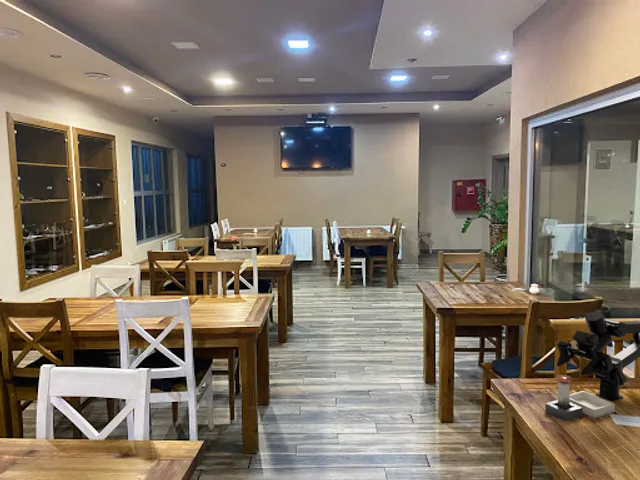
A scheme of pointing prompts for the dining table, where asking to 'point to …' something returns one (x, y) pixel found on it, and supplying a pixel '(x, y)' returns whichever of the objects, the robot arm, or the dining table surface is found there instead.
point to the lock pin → (564, 391)
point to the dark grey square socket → (563, 411)
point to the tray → (592, 404)
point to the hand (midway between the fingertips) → (569, 369)
